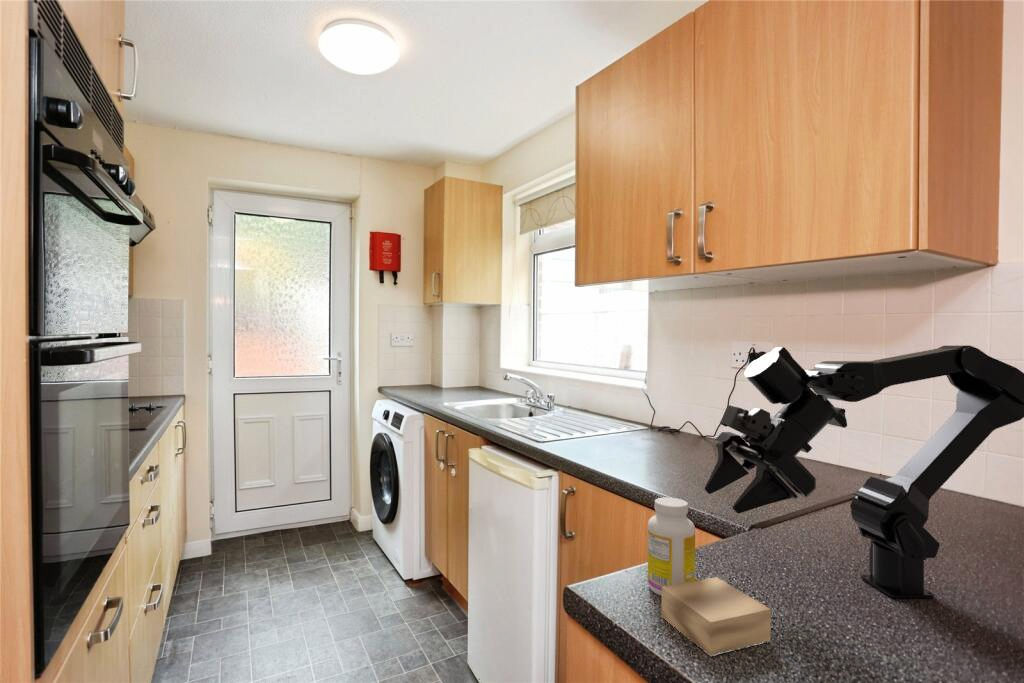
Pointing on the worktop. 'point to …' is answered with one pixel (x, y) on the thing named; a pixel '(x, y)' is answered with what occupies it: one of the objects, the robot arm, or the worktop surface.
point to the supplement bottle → (670, 545)
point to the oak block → (715, 615)
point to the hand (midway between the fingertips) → (719, 500)
